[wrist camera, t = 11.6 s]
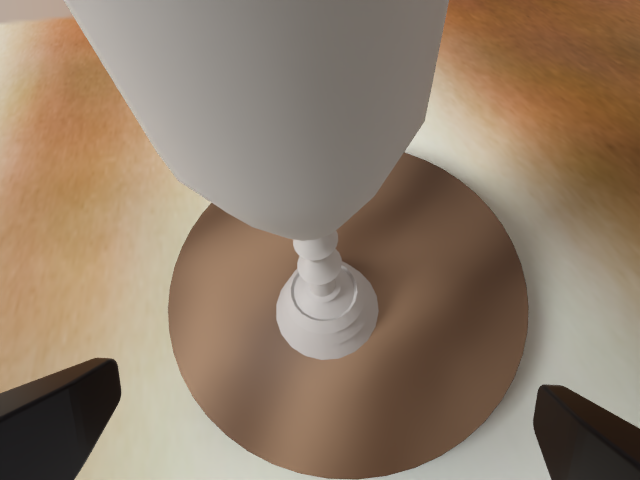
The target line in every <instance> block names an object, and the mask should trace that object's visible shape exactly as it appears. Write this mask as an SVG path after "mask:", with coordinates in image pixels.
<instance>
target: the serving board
mask: <svg viewBox="0 0 640 480" xmlns="http://www.w3.org/2000/svg"><path fill="white" fill-rule="evenodd" d="M336 231H337V234H338V243H337V246H336V248H335V249H336V250H337V251H338V252H339V254H340V256H341V258H342V261H343V262H345V263H347V264H348V265H350V266H351V267H353V268H355V269H356V270H357V271H359V272H360V273H361V274H362V275H363V276H364V277H365V278H366V279H367V280H368V281H369V282H370V283H371V285H372V287H373V289H374V291H375V294H376V296H377V302H378V310H379V312H378V317H377V322H376V327H375V328H374V330H373V332H372V334H371V335H370V337H369V339H368V341H367V342H365V343H364V344H363V345H362V346H361V347H360V348H359V349H357V350H356V351H355V352H353V353H351V354H349V355H346V356H344V357H341V358H339V359H328V360H320V359H316V358H312V357H307V356H305V355H303V354H301V353H300V352H298V351H297V350H295V349H294V348H292V347H291V346H290V345H289V343H288V342H287V341H286V340H285V338H284V337H283V336H282V334H281V332H280V329H279V326H278V323H277V320H276V304H277V301H278V298H279V295H280V292H281V289H282V288H283V287H284V285H285V284H286V283H287V281H288V280H289V278H290V277H291V276H292V274H293V273H294V272H295V270H297V262H298V259H299V255H298V254H297V252H296V251H295V249H294V246H293V239H289V238H285V237H282V236H279V235H276V234H272V233H269V232H266V231H263V230H260V229H257V228H253V227H251V226H250V225H248V224H246V223H244V222H243V221H241V220H239V219H237V218H235V217H234V216H232V215H230V214H228V213H227V212H225V211H224V210H222V209H221V208H219V207H217V206H216V205H214V204H213V203H211V204H210V205H209V206H208V208H207V209H206V210H205V211H204V212H203V213H202V215H201V216H200V218H199V219H198V221H197V222H196V223H195V225H194V226H193V228H192V229H191V231H190V233H189V235H188V237H187V239H186V241H185V243H184V245H183V246H182V249H181V251H180V254H179V257H178V259H177V262H176V265H175V268H174V272H173V277H172V281H171V285H170V294H169V305H168V315H169V332H170V337H171V342H172V347H173V352H174V355H175V358H176V361H177V364H178V367H179V370H180V372H181V375H182V377H183V379H184V381H185V383H186V385H187V386H188V388H189V390H190V392H191V394H192V396H193V397H194V399H195V400H196V401H197V403H198V404H199V405H200V407H201V408H202V410H203V411H204V412H205V414H206V415H207V416H208V417H209V418H210V419H211V420H212V421H213V422H214V423H215V424H216V425H217V426H218V427H219V428H220V429H221V430H222V431H223V432H224V433H225V434H226V435H227V436H228V437H230V438H231V439H232V440H234V441H235V442H236V443H238V444H239V445H240V446H242V447H243V448H244V449H246V450H247V451H249V452H251V453H253V454H255V455H256V456H258V457H260V458H262V459H264V460H266V461H268V462H270V463H272V464H274V465H277V466H280V467H283V468H286V469H289V470H292V471H295V472H297V473H301V474H306V475H312V476H317V477H323V478H330V479H364V478H372V477H380V476H387V475H391V474H395V473H398V472H402V471H405V470H409V469H412V468H415V467H418V466H420V465H422V464H424V463H426V462H428V461H431V460H433V459H435V458H437V457H439V456H441V455H443V454H444V453H446V452H447V451H449V450H450V449H452V448H453V447H455V446H456V445H458V444H459V443H461V442H462V441H464V440H465V439H466V438H467V437H468V436H470V435H471V434H472V433H473V432H474V431H475V430H476V429H477V428H478V427H479V426H480V425H482V424H483V423H484V422H485V421H486V419H487V418H488V417H489V416H490V414H491V413H492V412H493V410H494V409H495V408H496V407H497V405H498V404H499V403H500V402H501V400H502V398H503V397H504V395H505V393H506V391H507V390H508V388H509V386H510V384H511V382H512V381H513V379H514V377H515V374H516V371H517V368H518V366H519V363H520V360H521V358H522V355H523V350H524V345H525V340H526V335H527V328H528V298H527V288H526V282H525V278H524V274H523V270H522V266H521V263H520V260H519V258H518V255H517V253H516V250H515V248H514V245H513V243H512V241H511V239H510V238H509V236H508V234H507V232H506V231H505V229H504V227H503V225H502V224H501V223H500V221H499V220H498V219H497V217H496V216H495V214H494V213H493V212H492V210H491V209H490V208H489V207H488V206H487V205H486V204H485V203H484V202H483V201H482V199H481V198H480V197H479V196H478V195H477V194H476V193H475V192H473V191H472V190H471V189H470V188H469V187H467V186H466V185H465V184H464V183H463V182H461V181H460V180H459V179H457V178H456V177H454V176H452V175H451V174H449V173H448V172H446V171H445V170H443V169H441V168H439V167H437V166H435V165H433V164H431V163H430V162H428V161H425V160H423V159H420V158H418V157H415V156H412V155H410V154H407V153H403V154H402V156H401V157H400V159H399V160H398V162H397V163H396V165H395V166H394V168H393V169H392V171H391V172H390V174H389V175H388V177H387V178H386V180H385V181H384V183H383V184H382V186H381V187H380V189H379V190H378V192H377V193H376V195H375V196H374V197H373V198H372V199H371V200H370V201H369V202H368V203H366V204H365V205H364V206H363V207H362V208H361V209H360V210H359V211H358V212H356V213H355V214H354V215H353V216H352V217H351V218H350V219H349V220H348V221H346V222H345V223H344V224H343V225H342V226H341V227H339V228H338V229H337V230H336Z"/></svg>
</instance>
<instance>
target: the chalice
mask: <svg viewBox="0 0 640 480" xmlns="http://www.w3.org/2000/svg"><path fill="white" fill-rule="evenodd" d="M64 2H65V3H66V5H67V7H68V8H69V10H70V11H71V13H72V15H73V16H74V18H75V20H76V21H77V23H78V24H79V26H80V28H81V29H82V31H83V33H84V34H85V36H86V37H87V39H88V41H89V42H90V44H91V46H92V47H93V49H94V51H95V52H96V54H97V55H98V57H99V59H100V60H101V62H102V64H103V65H104V67H105V68H106V70H107V72H108V73H109V75H110V77H111V78H112V80H113V81H114V83H115V85H116V86H117V88H118V90H119V91H120V93H121V95H122V96H123V98H124V99H125V101H126V103H127V104H128V106H129V108H130V109H131V111H132V112H133V114H134V116H135V117H136V119H137V121H138V122H139V124H140V125H141V127H142V129H143V130H144V132H145V134H146V135H147V137H148V138H149V140H150V142H151V143H152V145H153V147H154V148H155V150H156V152H157V153H158V154H159V156H160V157H161V158H162V160H163V161H164V162H165V164H166V165H167V166H168V168H169V169H170V170H171V172H172V173H173V175H174V176H175V177H176V179H177V180H178V181H179V182H181V183H182V184H184V185H185V186H187V187H188V188H190V189H192V190H193V191H195V192H196V193H198V194H199V195H201V196H202V197H204V198H205V199H207V200H208V201H210V202H211V203H213V204H214V205H216V206H217V207H219V208H221V209H222V210H224V211H225V212H227V213H228V214H230V215H232V216H234V217H235V218H237V219H239V220H241V221H243V222H244V223H246V224H248V225H250V226H251V227H253V228H257V229H260V230H263V231H266V232H269V233H272V234H276V235H279V236H282V237H285V238H289V239H293V246H294V249H295V251H296V252H297V254H298V255H299V259H298V262H297V270H295V272H294V273H293V274H292V276H291V277H290V278H289V280H288V281H287V283H286V284H285V285H284V287H283V288H282V289H281V292H280V295H279V298H278V301H277V304H276V320H277V323H278V326H279V329H280V332H281V334H282V336H283V337H284V338H285V340H286V341H287V342H288V343H289V345H290V346H291V347H292V348H294V349H295V350H297V351H298V352H300V353H301V354H303V355H305V356H307V357H312V358H316V359H320V360H328V359H339V358H341V357H344V356H346V355H349V354H351V353H353V352H355V351H356V350H357V349H359V348H360V347H361V346H362V345H363V344H364V343H365V342H367V341H368V339H369V337H370V335H371V334H372V332H373V330H374V328H375V327H376V322H377V317H378V312H379V310H378V302H377V296H376V294H375V291H374V289H373V287H372V285H371V283H370V282H369V281H368V280H367V279H366V278H365V277H364V276H363V275H362V274H361V273H360V272H359V271H357V270H356V269H355V268H353V267H351V266H350V265H348V264H347V263H345V262H343V261H342V258H341V256H340V254H339V252H338V251H337V250H336V249H335V248H336V246H337V243H338V234H337V231H336V230H337V229H338V228H339V227H341V226H342V225H343V224H344V223H345V222H346V221H348V220H349V219H350V218H351V217H352V216H353V215H354V214H355V213H356V212H358V211H359V210H360V209H361V208H362V207H363V206H364V205H365V204H366V203H368V202H369V201H370V200H371V199H372V198H373V197H374V196H375V195H376V193H377V192H378V190H379V189H380V187H381V186H382V184H383V183H384V181H385V180H386V178H387V177H388V175H389V174H390V172H391V171H392V169H393V168H394V166H395V165H396V163H397V162H398V160H399V159H400V157H401V156H402V154H403V153H404V151H405V150H406V148H407V147H408V145H409V144H410V142H411V141H412V139H413V138H414V136H415V135H416V133H417V132H418V130H419V129H420V127H421V126H422V124H423V123H424V121H425V116H426V111H427V107H428V102H429V97H430V92H431V87H432V82H433V77H434V72H435V67H436V62H437V57H438V52H439V47H440V42H441V37H442V32H443V27H444V22H445V17H446V12H447V7H448V2H449V0H64Z"/></svg>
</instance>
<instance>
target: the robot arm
mask: <svg viewBox="0 0 640 480" xmlns="http://www.w3.org/2000/svg"><path fill="white" fill-rule="evenodd" d="M120 398H121V385H120V378H119V371H118V365H117V362H116V361H115V360H114V359H110V358H94V359H91V360H88V361H86V362H83V363H80V364H78V365H75V366H72V367H70V368H67V369H64V370H62V371H59V372H56V373H54V374H51V375H48V376H46V377H43V378H40V379H38V380H35V381H32V382H30V383H27V384H24V385H21V386H19V387H16V388H13V389H11V390H8V391H5V392H3V393H0V480H74V479H75V478H76V476H77V475H78V473H79V472H80V470H81V468H82V467H83V465H84V464H85V462H86V460H87V459H88V457H89V455H90V453H91V452H92V450H93V448H94V446H95V444H96V443H97V441H98V439H99V437H100V436H101V434H102V432H103V430H104V428H105V427H106V425H107V423H108V421H109V419H110V418H111V416H112V414H113V412H114V411H115V409H116V407H117V405H118V403H119V401H120ZM533 425H534V431H535V434H536V437H537V440H538V443H539V446H540V449H541V452H542V454H543V457H544V460H545V463H546V466H547V469H548V472H549V474H550V477H551V480H640V429H639V428H638V427H636V426H634V425H632V424H630V423H629V422H627V421H625V420H623V419H622V418H620V417H618V416H616V415H614V414H613V413H611V412H609V411H607V410H605V409H604V408H602V407H600V406H598V405H597V404H595V403H593V402H591V401H589V400H588V399H586V398H584V397H582V396H580V395H579V394H577V393H575V392H573V391H572V390H570V389H568V388H566V387H564V386H560V385H542V386H540V388H539V390H538V393H537V400H536V406H535V412H534V419H533Z"/></svg>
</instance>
